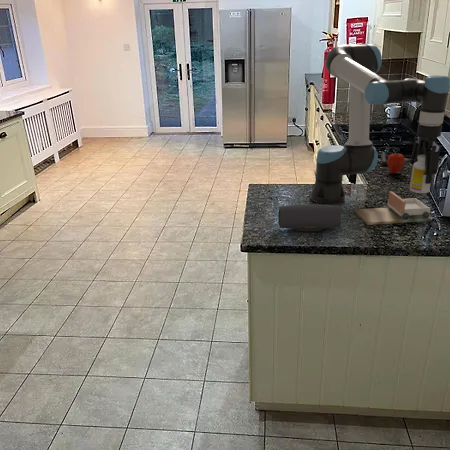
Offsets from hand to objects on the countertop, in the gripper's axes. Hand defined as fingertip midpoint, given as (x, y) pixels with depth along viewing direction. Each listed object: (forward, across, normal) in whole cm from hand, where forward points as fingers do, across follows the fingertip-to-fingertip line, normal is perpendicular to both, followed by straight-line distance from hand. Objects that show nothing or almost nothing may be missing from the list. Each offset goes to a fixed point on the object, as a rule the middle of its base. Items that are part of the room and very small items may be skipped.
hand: (419, 188), depth 161 cm
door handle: (+19, +91, -36) cm, 99 cm away
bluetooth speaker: (+18, +8, +38) cm, 42 cm away
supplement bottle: (+1, 0, 0) cm, 1 cm away
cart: (+16, +16, -6) cm, 23 cm away
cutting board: (+17, +16, +1) cm, 23 cm away
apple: (+18, +71, -26) cm, 77 cm away
